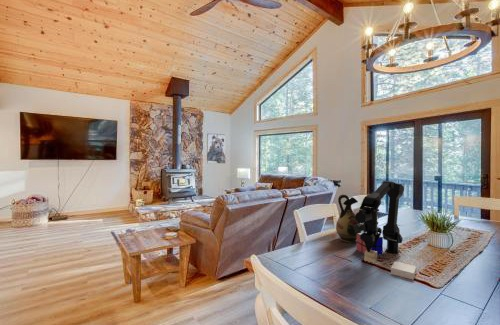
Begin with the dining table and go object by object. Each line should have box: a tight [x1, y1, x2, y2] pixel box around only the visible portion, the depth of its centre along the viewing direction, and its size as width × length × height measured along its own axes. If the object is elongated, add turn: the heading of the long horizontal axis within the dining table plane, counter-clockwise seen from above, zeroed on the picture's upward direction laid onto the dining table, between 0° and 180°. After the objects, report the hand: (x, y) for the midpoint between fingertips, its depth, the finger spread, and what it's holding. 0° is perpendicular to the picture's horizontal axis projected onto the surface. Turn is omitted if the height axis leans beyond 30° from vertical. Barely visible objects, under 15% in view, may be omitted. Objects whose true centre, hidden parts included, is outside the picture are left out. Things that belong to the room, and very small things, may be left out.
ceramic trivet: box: [390, 261, 417, 281], centre depth 120 cm, size 9×9×3 cm
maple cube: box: [363, 250, 378, 264], centre depth 134 cm, size 5×5×5 cm
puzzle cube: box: [355, 232, 384, 256], centre depth 146 cm, size 10×10×10 cm
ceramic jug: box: [335, 194, 362, 244], centre depth 166 cm, size 17×15×30 cm
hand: (371, 249), depth 134 cm, fingers open, 9 cm apart
